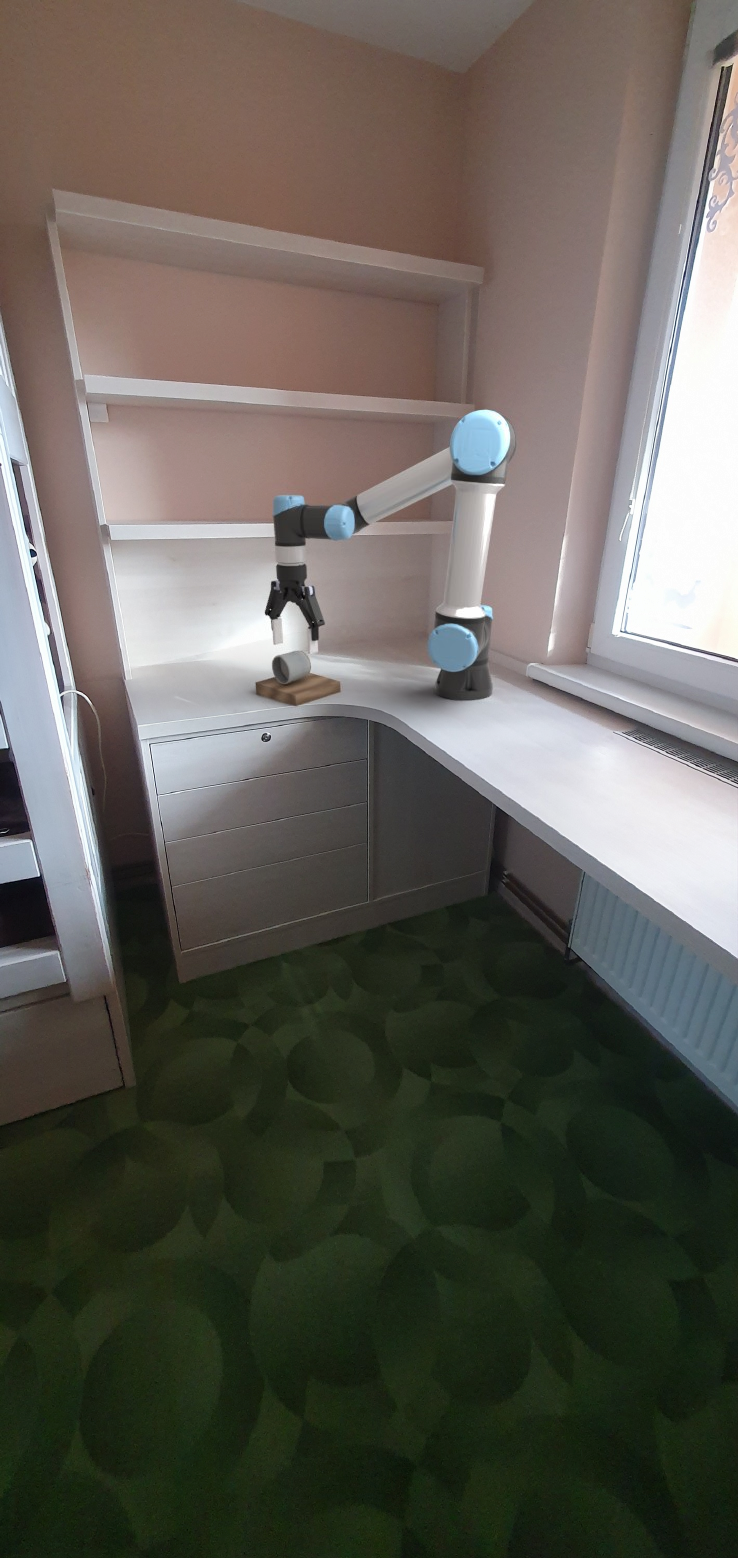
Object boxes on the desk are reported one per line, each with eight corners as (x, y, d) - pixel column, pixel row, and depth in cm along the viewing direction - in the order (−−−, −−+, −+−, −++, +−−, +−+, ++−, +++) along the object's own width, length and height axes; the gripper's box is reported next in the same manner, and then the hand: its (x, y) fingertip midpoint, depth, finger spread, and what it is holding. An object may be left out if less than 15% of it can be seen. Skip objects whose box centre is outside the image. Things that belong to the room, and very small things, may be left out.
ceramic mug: (314, 677, 174) (311, 649, 170) (291, 687, 169) (286, 658, 165) (289, 670, 180) (285, 643, 177) (266, 679, 176) (261, 652, 172)
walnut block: (340, 695, 176) (340, 681, 174) (296, 710, 166) (295, 695, 164) (300, 683, 186) (299, 669, 184) (256, 696, 175) (255, 682, 173)
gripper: (337, 566, 155) (339, 653, 165) (270, 557, 170) (275, 637, 180) (314, 570, 150) (317, 659, 160) (247, 559, 165) (253, 642, 175)
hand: (295, 648), depth 170 cm, fingers open, 13 cm apart
